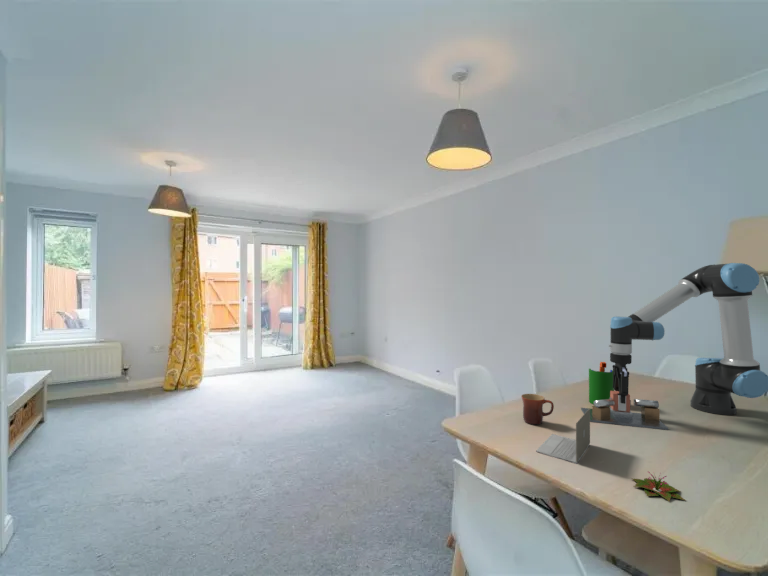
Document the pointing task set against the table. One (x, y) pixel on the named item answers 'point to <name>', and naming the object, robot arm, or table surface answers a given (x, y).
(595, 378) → the motor
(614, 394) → the block
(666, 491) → the lily flower
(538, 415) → the mug
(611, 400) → the shaft
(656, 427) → the base plate
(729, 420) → the table surface
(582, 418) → the laptop
